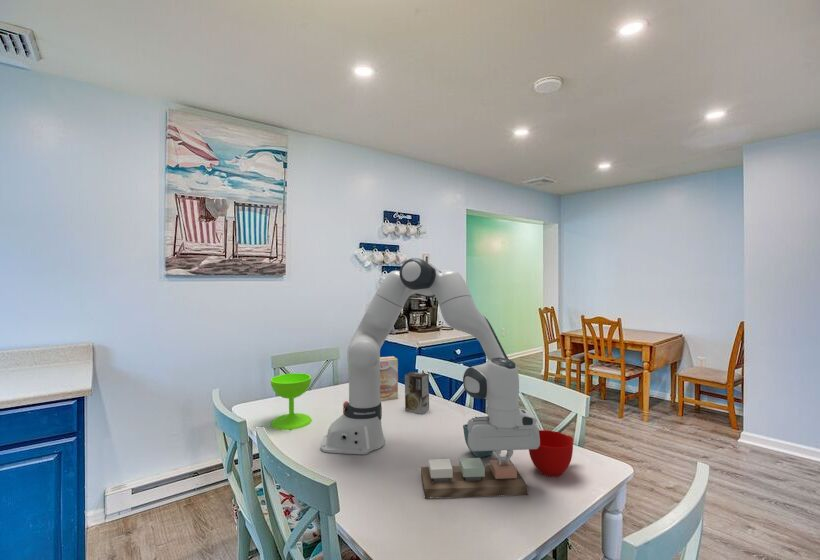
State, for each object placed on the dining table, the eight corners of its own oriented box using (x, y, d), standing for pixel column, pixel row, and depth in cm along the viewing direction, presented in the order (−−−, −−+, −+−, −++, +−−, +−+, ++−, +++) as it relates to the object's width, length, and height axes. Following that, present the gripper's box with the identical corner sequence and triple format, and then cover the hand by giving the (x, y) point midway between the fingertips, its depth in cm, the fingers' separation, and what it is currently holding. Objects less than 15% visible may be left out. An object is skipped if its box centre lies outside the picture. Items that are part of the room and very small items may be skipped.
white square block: (431, 487, 109) (430, 469, 109) (428, 476, 115) (428, 459, 115) (452, 486, 109) (452, 468, 109) (449, 475, 115) (449, 458, 115)
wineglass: (291, 432, 150) (291, 385, 150) (262, 425, 157) (261, 380, 157) (320, 419, 164) (319, 375, 164) (291, 412, 172) (291, 371, 171)
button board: (424, 498, 106) (424, 489, 106) (421, 475, 118) (421, 467, 117) (527, 494, 107) (527, 485, 107) (513, 472, 119) (513, 464, 119)
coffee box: (429, 410, 174) (429, 373, 174) (422, 414, 168) (422, 377, 168) (412, 406, 179) (412, 371, 179) (404, 410, 173) (404, 374, 173)
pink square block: (495, 487, 110) (495, 470, 110) (489, 476, 116) (489, 460, 116) (516, 486, 110) (516, 469, 110) (510, 475, 116) (510, 459, 116)
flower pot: (462, 450, 134) (462, 424, 134) (484, 446, 137) (484, 420, 137) (476, 462, 126) (476, 434, 126) (499, 456, 129) (499, 429, 129)
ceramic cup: (590, 471, 120) (590, 438, 120) (554, 487, 111) (554, 451, 111) (554, 454, 131) (554, 424, 131) (518, 468, 122) (518, 435, 122)
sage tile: (463, 486, 109) (463, 468, 109) (459, 475, 115) (459, 458, 115) (484, 485, 109) (484, 467, 109) (479, 474, 115) (479, 457, 115)
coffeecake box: (368, 402, 185) (368, 361, 184) (364, 398, 191) (364, 358, 191) (398, 398, 190) (398, 358, 190) (393, 394, 197) (393, 355, 196)
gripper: (469, 421, 109) (469, 471, 109) (542, 419, 110) (542, 468, 110) (465, 413, 115) (465, 460, 115) (533, 411, 116) (533, 457, 117)
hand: (503, 464), depth 113 cm, fingers closed, pressing on pink square block
